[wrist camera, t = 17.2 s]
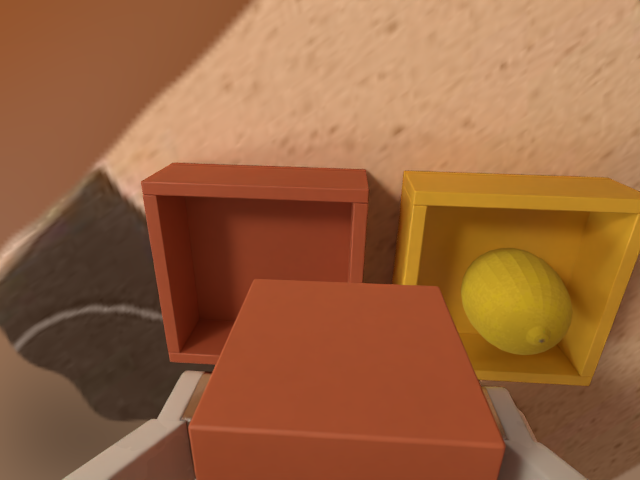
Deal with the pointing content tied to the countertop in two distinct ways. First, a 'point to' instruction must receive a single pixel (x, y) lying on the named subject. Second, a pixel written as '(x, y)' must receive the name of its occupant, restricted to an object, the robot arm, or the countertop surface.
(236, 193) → the terracotta bin
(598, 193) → the yellow bin
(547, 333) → the lemon
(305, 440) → the block
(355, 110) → the countertop surface
